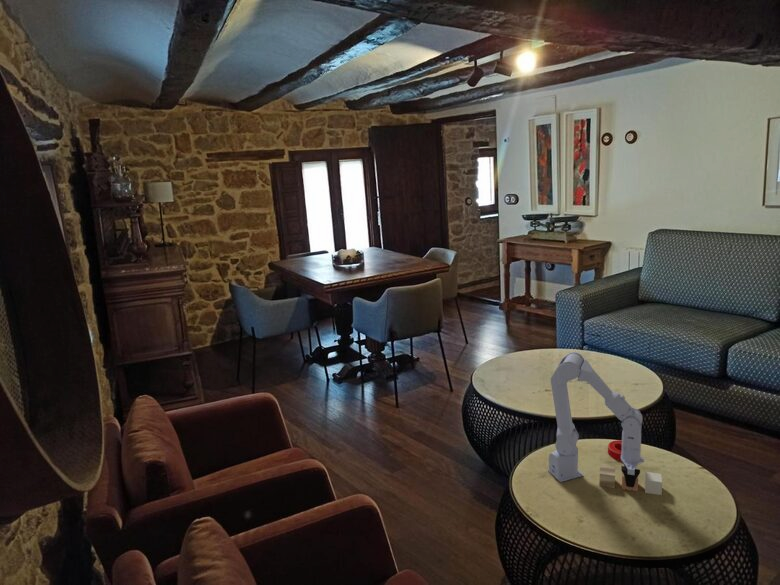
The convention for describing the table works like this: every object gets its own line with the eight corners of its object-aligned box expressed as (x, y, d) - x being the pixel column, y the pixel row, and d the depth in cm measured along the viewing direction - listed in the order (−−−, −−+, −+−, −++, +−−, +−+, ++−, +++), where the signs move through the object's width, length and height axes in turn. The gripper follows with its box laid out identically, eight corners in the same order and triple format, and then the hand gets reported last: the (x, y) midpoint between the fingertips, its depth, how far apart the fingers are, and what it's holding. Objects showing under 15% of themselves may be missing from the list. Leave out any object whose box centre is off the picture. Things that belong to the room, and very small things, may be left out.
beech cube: (614, 488, 180) (615, 475, 179) (599, 485, 182) (599, 473, 181) (614, 480, 185) (615, 467, 183) (599, 477, 186) (600, 465, 185)
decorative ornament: (608, 459, 196) (608, 452, 196) (607, 446, 205) (607, 438, 204) (637, 463, 193) (637, 455, 192) (634, 448, 202) (635, 441, 201)
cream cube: (661, 495, 175) (662, 482, 174) (645, 492, 177) (645, 480, 176) (660, 486, 179) (661, 474, 178) (644, 484, 181) (645, 471, 180)
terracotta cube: (637, 491, 178) (638, 478, 176) (621, 489, 179) (622, 476, 178) (637, 483, 182) (637, 470, 181) (621, 480, 184) (622, 468, 182)
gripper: (645, 459, 169) (643, 496, 172) (643, 436, 182) (642, 471, 185) (621, 455, 172) (619, 493, 175) (621, 433, 184) (619, 468, 188)
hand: (629, 481), depth 180 cm, fingers closed on terracotta cube, 5 cm apart
